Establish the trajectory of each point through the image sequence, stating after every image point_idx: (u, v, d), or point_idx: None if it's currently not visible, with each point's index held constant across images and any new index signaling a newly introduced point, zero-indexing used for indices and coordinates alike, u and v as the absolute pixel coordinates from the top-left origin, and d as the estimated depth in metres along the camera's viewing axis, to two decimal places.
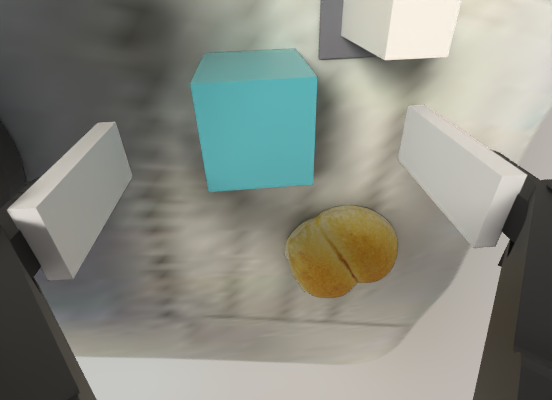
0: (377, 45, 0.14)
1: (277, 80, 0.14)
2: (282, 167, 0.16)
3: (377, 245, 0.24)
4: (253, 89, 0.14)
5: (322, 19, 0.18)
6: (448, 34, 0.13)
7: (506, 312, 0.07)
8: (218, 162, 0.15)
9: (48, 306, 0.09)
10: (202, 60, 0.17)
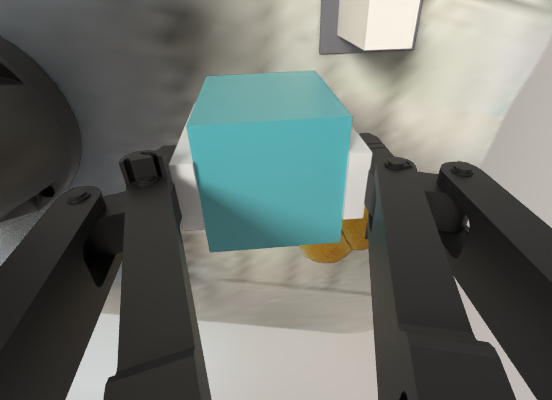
0: (360, 40, 0.18)
1: (300, 121, 0.10)
2: (302, 223, 0.13)
3: (367, 215, 0.29)
4: (268, 132, 0.10)
5: (322, 21, 0.23)
6: (411, 31, 0.17)
7: (383, 287, 0.07)
8: (222, 218, 0.12)
9: (185, 258, 0.10)
10: (203, 87, 0.14)
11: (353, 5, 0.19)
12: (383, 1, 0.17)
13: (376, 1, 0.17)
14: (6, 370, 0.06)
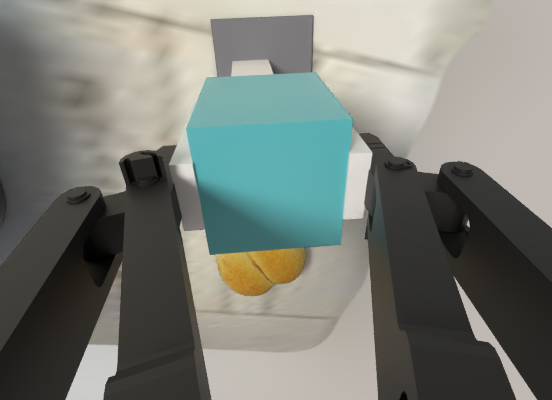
0: None
1: (300, 123, 0.10)
2: (303, 226, 0.13)
3: (282, 255, 0.31)
4: (269, 134, 0.10)
5: None
6: None
7: (383, 287, 0.07)
8: (222, 221, 0.12)
9: (185, 258, 0.10)
10: (204, 89, 0.14)
11: None
12: None
13: None
14: (6, 370, 0.06)
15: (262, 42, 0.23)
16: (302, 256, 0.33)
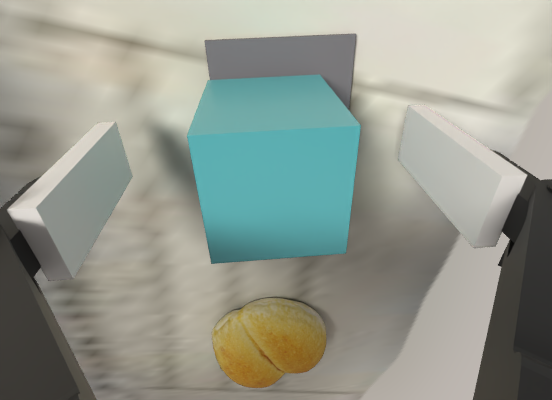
0: None
1: (306, 130, 0.10)
2: (307, 234, 0.12)
3: (298, 345, 0.24)
4: (273, 142, 0.10)
5: None
6: None
7: (506, 312, 0.07)
8: (224, 230, 0.12)
9: (48, 306, 0.09)
10: (205, 92, 0.14)
11: None
12: None
13: None
14: None
15: (280, 72, 0.16)
16: (324, 341, 0.25)
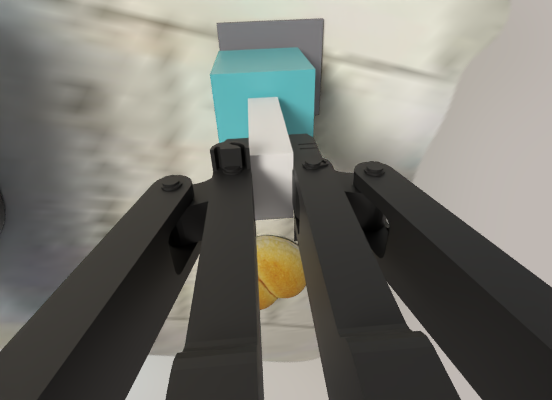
0: None
1: (282, 72, 0.16)
2: None
3: (286, 269, 0.30)
4: (262, 79, 0.16)
5: None
6: None
7: (318, 291, 0.07)
8: None
9: (256, 249, 0.11)
10: (218, 56, 0.20)
11: None
12: None
13: None
14: (91, 345, 0.06)
15: (270, 46, 0.22)
16: None
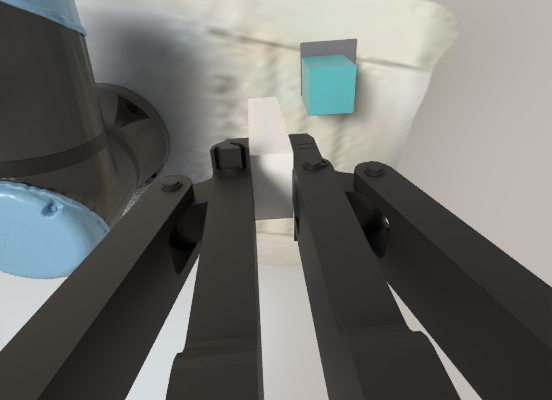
0: None
1: (341, 67, 0.36)
2: (340, 104, 0.38)
3: None
4: (332, 71, 0.36)
5: (301, 79, 0.44)
6: None
7: (318, 291, 0.07)
8: (315, 101, 0.38)
9: (256, 249, 0.11)
10: (304, 60, 0.40)
11: None
12: None
13: None
14: (91, 345, 0.06)
15: (327, 54, 0.42)
16: None
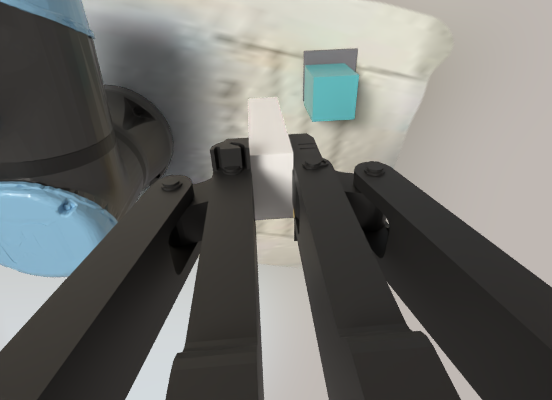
0: None
1: (344, 76, 0.38)
2: (342, 111, 0.40)
3: None
4: (335, 79, 0.38)
5: (304, 86, 0.45)
6: None
7: (318, 291, 0.07)
8: (318, 108, 0.39)
9: (256, 249, 0.11)
10: (308, 68, 0.41)
11: None
12: None
13: None
14: (91, 345, 0.06)
15: (329, 62, 0.44)
16: None
